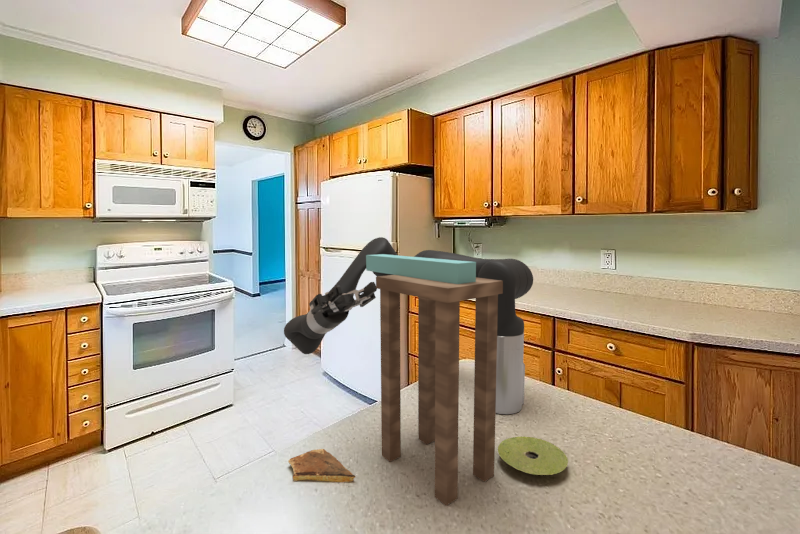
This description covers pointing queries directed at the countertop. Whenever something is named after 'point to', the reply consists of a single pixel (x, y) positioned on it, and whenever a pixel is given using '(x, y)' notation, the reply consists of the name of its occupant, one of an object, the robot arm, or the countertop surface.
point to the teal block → (423, 268)
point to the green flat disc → (533, 455)
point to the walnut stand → (441, 372)
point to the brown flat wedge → (319, 467)
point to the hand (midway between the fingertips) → (357, 287)
